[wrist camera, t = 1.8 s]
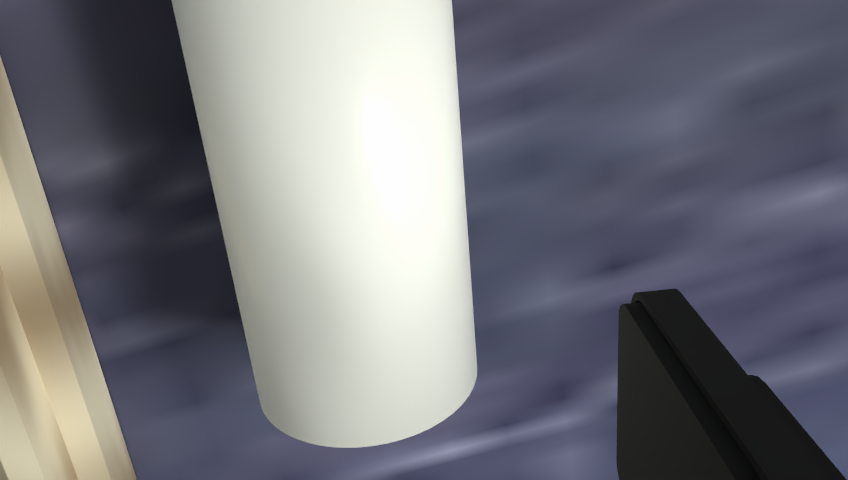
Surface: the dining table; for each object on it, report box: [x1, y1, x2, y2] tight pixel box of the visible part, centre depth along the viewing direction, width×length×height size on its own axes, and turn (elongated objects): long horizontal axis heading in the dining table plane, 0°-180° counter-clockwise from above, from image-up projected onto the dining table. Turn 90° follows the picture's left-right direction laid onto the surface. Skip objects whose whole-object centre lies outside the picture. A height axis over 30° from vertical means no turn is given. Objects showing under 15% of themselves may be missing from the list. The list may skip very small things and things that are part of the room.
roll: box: [171, 0, 477, 448], centre depth 18 cm, size 12×6×6 cm, turn 5°
